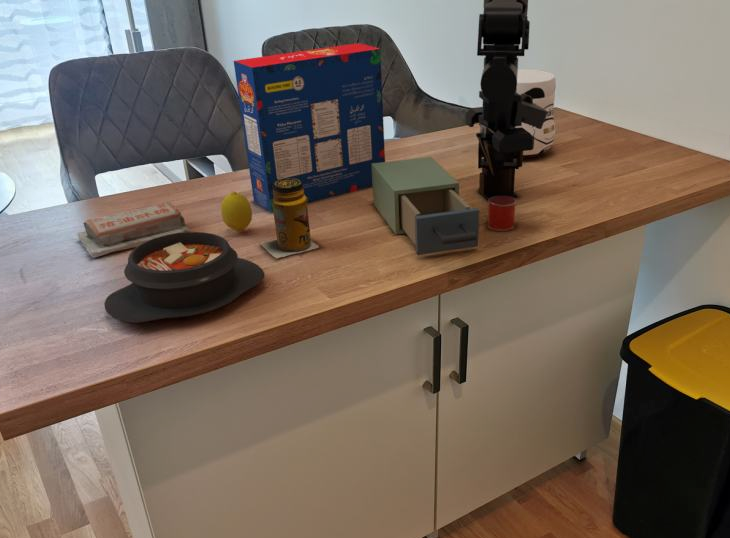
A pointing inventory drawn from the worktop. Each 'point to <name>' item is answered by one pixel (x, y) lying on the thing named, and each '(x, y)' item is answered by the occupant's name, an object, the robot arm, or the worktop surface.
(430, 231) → the drawer
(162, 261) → the casserole
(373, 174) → the cabinet
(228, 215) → the lemon
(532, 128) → the milk container
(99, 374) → the worktop surface
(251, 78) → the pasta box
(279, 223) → the condiment
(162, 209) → the packaged product
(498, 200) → the can
